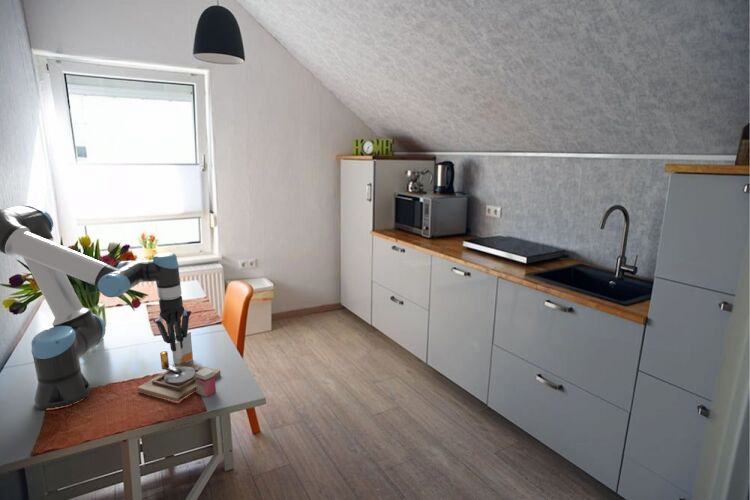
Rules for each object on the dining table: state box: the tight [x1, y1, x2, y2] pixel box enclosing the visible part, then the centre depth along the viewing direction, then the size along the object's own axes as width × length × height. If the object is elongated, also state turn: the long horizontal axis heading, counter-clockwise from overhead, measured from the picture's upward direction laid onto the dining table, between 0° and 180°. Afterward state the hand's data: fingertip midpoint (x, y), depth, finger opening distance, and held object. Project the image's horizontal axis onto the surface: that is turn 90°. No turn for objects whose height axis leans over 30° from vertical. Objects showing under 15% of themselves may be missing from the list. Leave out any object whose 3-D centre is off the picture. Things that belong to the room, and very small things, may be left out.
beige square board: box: [137, 362, 221, 401], centre depth 155 cm, size 20×18×3 cm
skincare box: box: [171, 330, 194, 365], centre depth 170 cm, size 6×4×12 cm
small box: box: [195, 367, 217, 398], centre depth 148 cm, size 5×4×8 cm
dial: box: [159, 350, 195, 386], centre depth 155 cm, size 14×10×8 cm
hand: (178, 357), depth 159 cm, fingers closed
